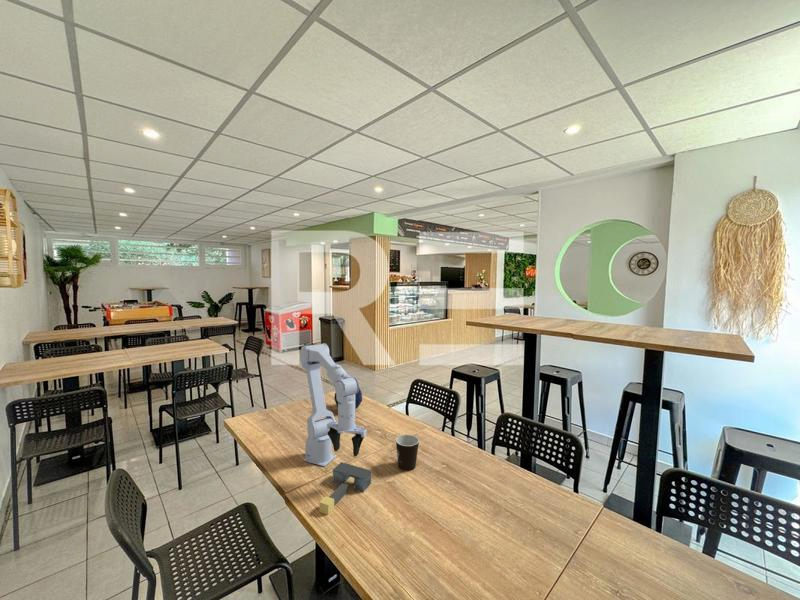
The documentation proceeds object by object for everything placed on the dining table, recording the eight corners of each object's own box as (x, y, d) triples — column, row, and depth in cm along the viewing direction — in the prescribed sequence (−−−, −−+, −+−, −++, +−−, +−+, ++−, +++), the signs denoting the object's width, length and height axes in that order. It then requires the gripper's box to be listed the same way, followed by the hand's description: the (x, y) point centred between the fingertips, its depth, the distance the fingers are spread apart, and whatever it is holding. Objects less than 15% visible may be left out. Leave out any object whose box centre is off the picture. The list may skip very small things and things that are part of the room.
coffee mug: (416, 474, 115) (417, 447, 114) (393, 471, 117) (393, 444, 116) (421, 457, 126) (421, 432, 126) (399, 454, 128) (399, 429, 128)
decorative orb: (351, 391, 183) (340, 374, 174) (371, 397, 174) (360, 380, 166) (336, 413, 174) (323, 396, 166) (357, 420, 165) (344, 403, 157)
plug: (341, 489, 107) (341, 480, 106) (349, 491, 105) (349, 482, 105) (319, 511, 96) (319, 502, 96) (328, 515, 95) (328, 505, 95)
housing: (332, 482, 110) (332, 469, 110) (341, 474, 114) (341, 462, 114) (363, 492, 105) (363, 478, 105) (371, 483, 110) (371, 470, 109)
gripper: (321, 414, 108) (321, 453, 109) (359, 422, 102) (358, 463, 103) (333, 406, 114) (333, 443, 115) (369, 414, 109) (369, 453, 109)
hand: (346, 452), depth 109 cm, fingers open, 7 cm apart
